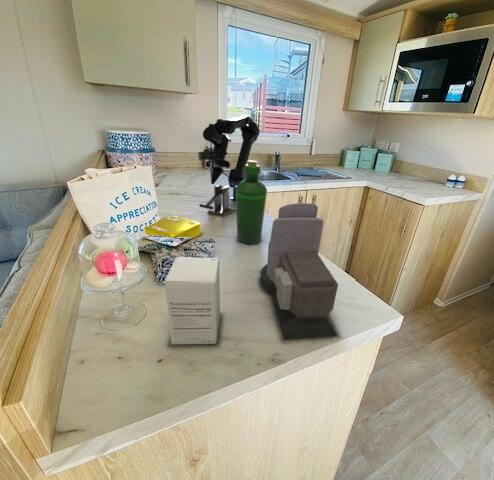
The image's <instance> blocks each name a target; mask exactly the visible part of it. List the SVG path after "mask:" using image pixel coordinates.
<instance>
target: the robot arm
mask: <svg viewBox="0 0 494 480" xmlns="http://www.w3.org/2000/svg"><path fill="white" fill-rule="evenodd" d="M237 129H239V130H240V132H241V138H242V143H241V148H240V150H239V153H238V157H237V161H236V165H235V167H234V168H231V169H230V167H231V163H230V161H229V160H226V156H227V155H228V146H229V143H231V142H232V139H231V138H230V135H233V134H234V133H235V132H236V130H237ZM259 135H260V127H259V126H258V124H257V123H256V122H254V121H253V120H252V118H251V116H249V115H240V116H237V117H233V118H229V119H226V118H225V119H224V118H218V119H216V122H214V123H209V124H208V126H207V127H205V128H204V130H203V131H202V137H203V139H204V140H205V141H207V142H208V143H210V144H211V145H213V148H212V149H209V148H204V149H203V151H198V152H197V155H198V156H197V157H198V161H205V160H207V161H205V162H204V165H203V167H204V168H206V169H208V170H209V172H210V184H211V185H214V184H215V183H216V182H217V181H218V179H219V178H220V177H221V175H222V174H223V173H224V172H225V169H227V170H229V169H230V171H229V175H228V178H227V181H228V186H229V188H232V197H229V200H232V201H236V189H235V188H236V187H237V185H238V184H239V183H240V182H242V181H243V180H246V174H245V172H244V168H245V165H246V164H248V160H249V157H250V153H251V150H252V146H253V145H254V143H255V142H257V140H258V138H259ZM224 168H225V169H224Z"/></svg>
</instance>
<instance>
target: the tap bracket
mask: <svg viewBox="0 0 494 480" xmlns="http://www.w3.org/2000/svg"><path fill="white" fill-rule="evenodd" d="M220 186H222V184H217V185H214V187H213V192H214V193H213V194H214V195H213V197H214V196H215V195H216V194H217V192H218V188H219V187H220ZM213 203H214V207H213V209H207V213H208V214H210V215H211V214H212V215H214V216H215V215H216V216H220V217H226V216H227V215H229V214H231V213H233V212H234V211H236V207H232V206H230V186H229V185H226V186H224V187H223V188H222V194H220V195H219V196H218V197H217V198H216V199H215V201H214V202H213Z"/></svg>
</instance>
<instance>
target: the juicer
mask: <svg viewBox="0 0 494 480" xmlns="http://www.w3.org/2000/svg"><path fill="white" fill-rule="evenodd" d="M318 211H319V207H318V205H317V204H314V203H309V202H308V203H307V202H299V203H297V202H296V203H289V204H285V205H283V206H281V207H279V208H278V213H277V214H278V215H277V218H275V219H273V221H272V227H271V233H270V237H269V238H270V239H269V242H268V247H267V249H268V250H267V263H266V264H265V265H264V266H263V267H262V268H261V271H260V286H261V288H262V289H263V290H264V291H265V292H266V293H267V294H268V295H270V296H271V299H272V302H273V305H274V309H275V312H276V316H277V320H278V324H279V326H280V331H281V334H282V337H283V340H297V339H312V338H324V337H325V338H326V337H338V334H337V332H336V330H335V328H334V326H333V324H332V323H331V321H330V319H329V317H328V315H330V314H331V313H332V311H334V307H335V302H336V297H337V292H338V287H339V283H338V282H337V280H336V279H335V277H334V276H333V274H332V273H331V271H330V270H329V268H328V267H327V265H326V264H325V263H324V261H323V259H322V258H321V257H320V255H319V251H320V246H321V241H322V235H323V234H322V233H323V228H324V220H323V218H320V217H317V216H318Z"/></svg>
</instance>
